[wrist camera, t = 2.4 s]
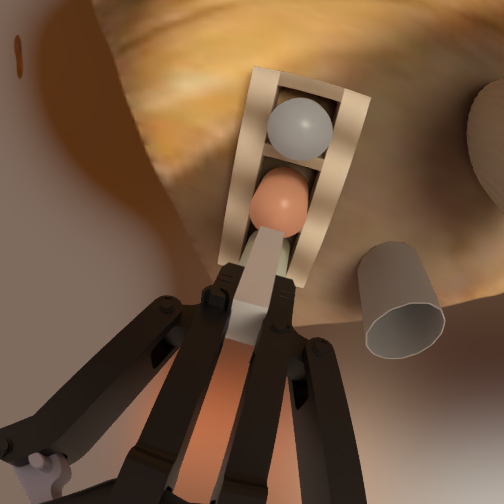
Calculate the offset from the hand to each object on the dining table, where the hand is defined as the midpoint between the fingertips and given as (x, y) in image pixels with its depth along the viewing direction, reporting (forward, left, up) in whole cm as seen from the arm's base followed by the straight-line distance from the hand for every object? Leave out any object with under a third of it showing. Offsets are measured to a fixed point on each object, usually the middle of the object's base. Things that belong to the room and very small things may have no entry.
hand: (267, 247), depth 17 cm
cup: (+7, +15, -13) cm, 21 cm away
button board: (0, 0, -12) cm, 12 cm away
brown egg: (0, 0, -9) cm, 9 cm away
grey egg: (-7, 0, -9) cm, 12 cm away
